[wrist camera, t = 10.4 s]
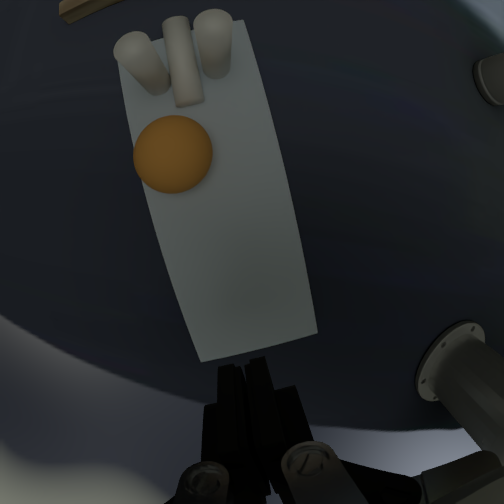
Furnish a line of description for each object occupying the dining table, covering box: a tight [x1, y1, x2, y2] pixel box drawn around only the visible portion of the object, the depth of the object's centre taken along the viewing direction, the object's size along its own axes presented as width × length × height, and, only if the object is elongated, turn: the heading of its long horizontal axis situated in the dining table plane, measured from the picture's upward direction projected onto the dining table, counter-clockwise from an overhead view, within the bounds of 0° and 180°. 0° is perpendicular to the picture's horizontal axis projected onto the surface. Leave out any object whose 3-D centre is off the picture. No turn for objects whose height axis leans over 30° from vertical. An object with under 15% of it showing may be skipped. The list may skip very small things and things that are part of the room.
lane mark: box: [118, 20, 318, 362], centre depth 25 cm, size 31×12×1 cm, turn 14°
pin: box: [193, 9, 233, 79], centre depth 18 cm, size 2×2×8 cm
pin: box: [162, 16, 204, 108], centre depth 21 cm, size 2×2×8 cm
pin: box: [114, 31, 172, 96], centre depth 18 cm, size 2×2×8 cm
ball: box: [133, 115, 213, 194], centre depth 21 cm, size 6×6×6 cm
